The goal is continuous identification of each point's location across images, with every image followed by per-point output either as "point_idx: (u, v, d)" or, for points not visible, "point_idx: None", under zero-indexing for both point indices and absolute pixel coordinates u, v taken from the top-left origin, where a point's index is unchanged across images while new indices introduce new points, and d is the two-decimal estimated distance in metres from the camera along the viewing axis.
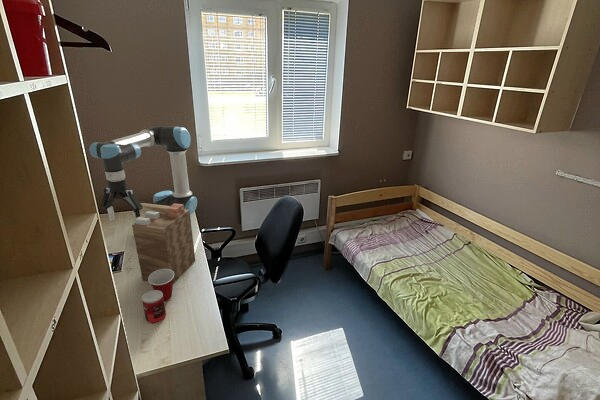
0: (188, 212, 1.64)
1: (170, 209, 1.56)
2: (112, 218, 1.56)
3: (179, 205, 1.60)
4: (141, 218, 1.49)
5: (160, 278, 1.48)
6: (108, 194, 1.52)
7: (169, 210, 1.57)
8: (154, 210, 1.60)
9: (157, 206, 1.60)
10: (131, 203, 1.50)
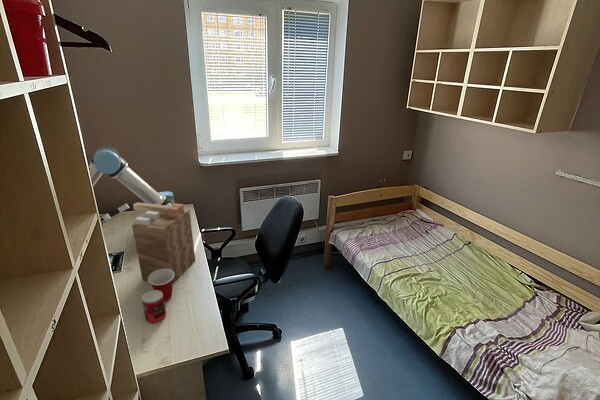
0: (188, 212, 1.64)
1: (170, 209, 1.56)
2: (126, 207, 1.74)
3: (179, 205, 1.60)
4: (141, 218, 1.49)
5: (160, 278, 1.48)
6: None
7: (169, 210, 1.57)
8: (154, 210, 1.60)
9: (157, 206, 1.60)
10: None
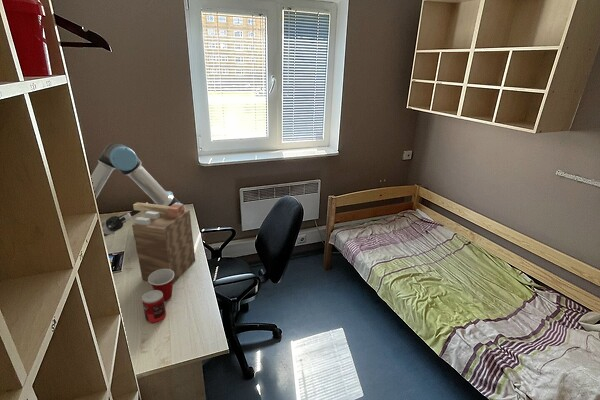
0: (188, 212, 1.64)
1: (170, 209, 1.56)
2: None
3: (179, 205, 1.60)
4: (141, 218, 1.49)
5: (160, 278, 1.48)
6: None
7: (169, 210, 1.57)
8: (154, 210, 1.60)
9: (157, 206, 1.60)
10: (118, 223, 1.62)
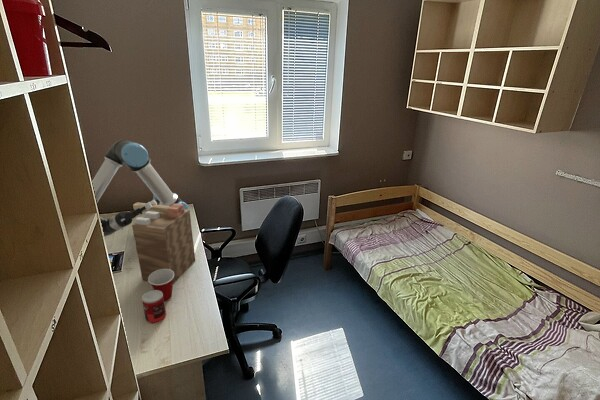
0: (188, 212, 1.64)
1: (170, 209, 1.56)
2: (154, 203, 1.63)
3: (179, 205, 1.60)
4: (141, 218, 1.49)
5: (160, 278, 1.48)
6: None
7: (169, 210, 1.57)
8: (154, 210, 1.60)
9: (157, 206, 1.60)
10: (135, 214, 1.62)
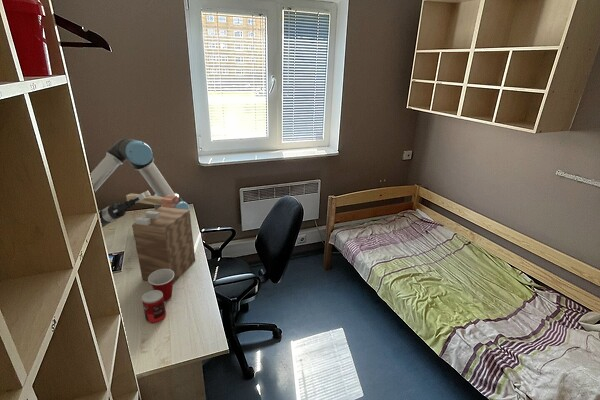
0: (188, 212, 1.64)
1: (164, 200, 1.51)
2: (147, 194, 1.58)
3: (173, 196, 1.55)
4: (141, 218, 1.49)
5: (160, 278, 1.48)
6: None
7: (163, 201, 1.52)
8: (148, 201, 1.55)
9: (151, 197, 1.56)
10: None
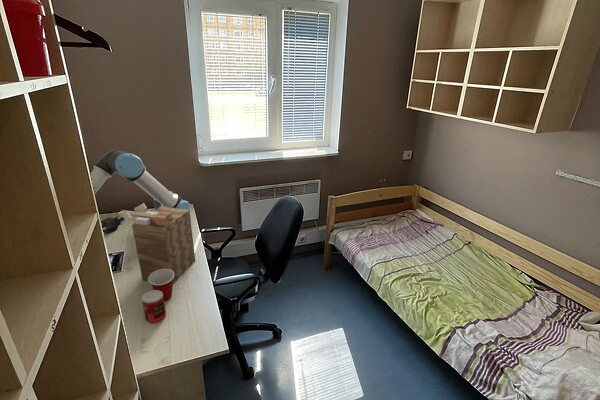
0: (188, 212, 1.64)
1: (158, 217, 1.47)
2: (143, 207, 1.57)
3: (167, 213, 1.51)
4: (141, 218, 1.49)
5: (160, 278, 1.48)
6: None
7: (156, 219, 1.48)
8: None
9: (144, 214, 1.51)
10: None
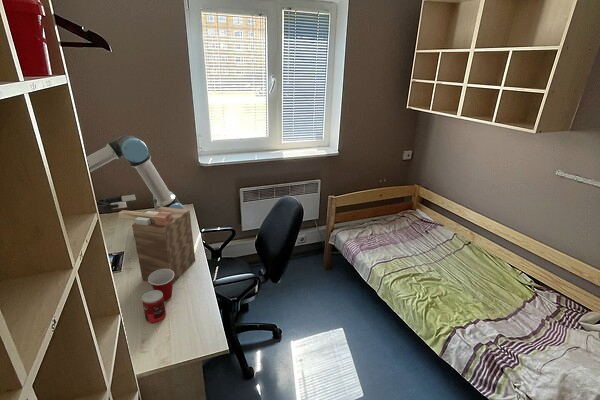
0: (188, 212, 1.64)
1: (158, 217, 1.47)
2: (133, 198, 1.72)
3: (167, 213, 1.51)
4: (141, 218, 1.49)
5: (160, 278, 1.48)
6: None
7: (156, 219, 1.48)
8: None
9: (144, 214, 1.51)
10: None
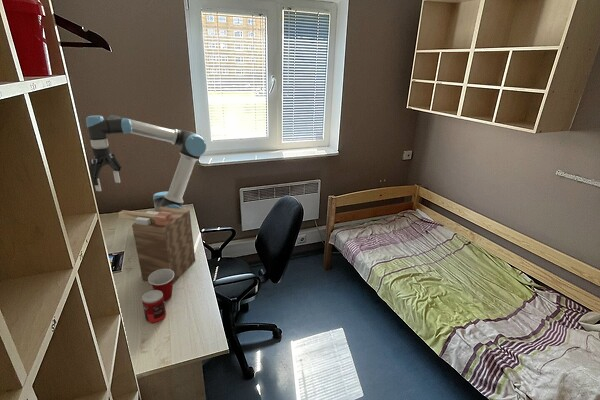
0: (188, 212, 1.64)
1: (158, 217, 1.47)
2: (116, 181, 1.80)
3: (167, 213, 1.51)
4: (141, 218, 1.49)
5: (160, 278, 1.48)
6: (112, 159, 1.75)
7: (156, 219, 1.48)
8: None
9: (144, 214, 1.51)
10: None
